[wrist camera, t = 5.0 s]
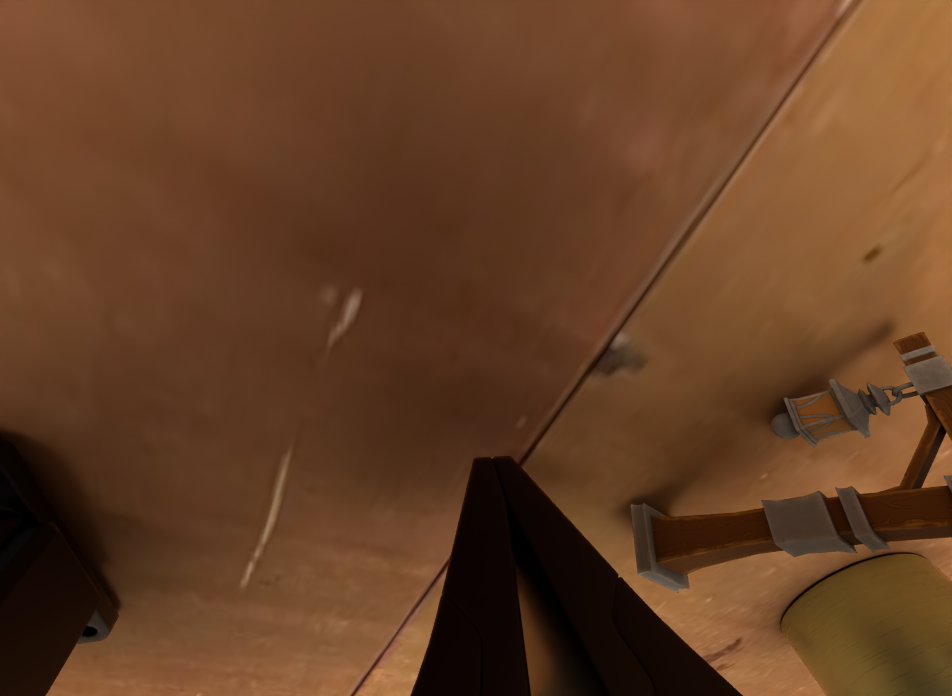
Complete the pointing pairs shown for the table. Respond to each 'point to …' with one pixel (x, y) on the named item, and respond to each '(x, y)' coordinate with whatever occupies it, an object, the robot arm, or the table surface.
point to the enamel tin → (877, 629)
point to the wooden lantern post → (815, 516)
